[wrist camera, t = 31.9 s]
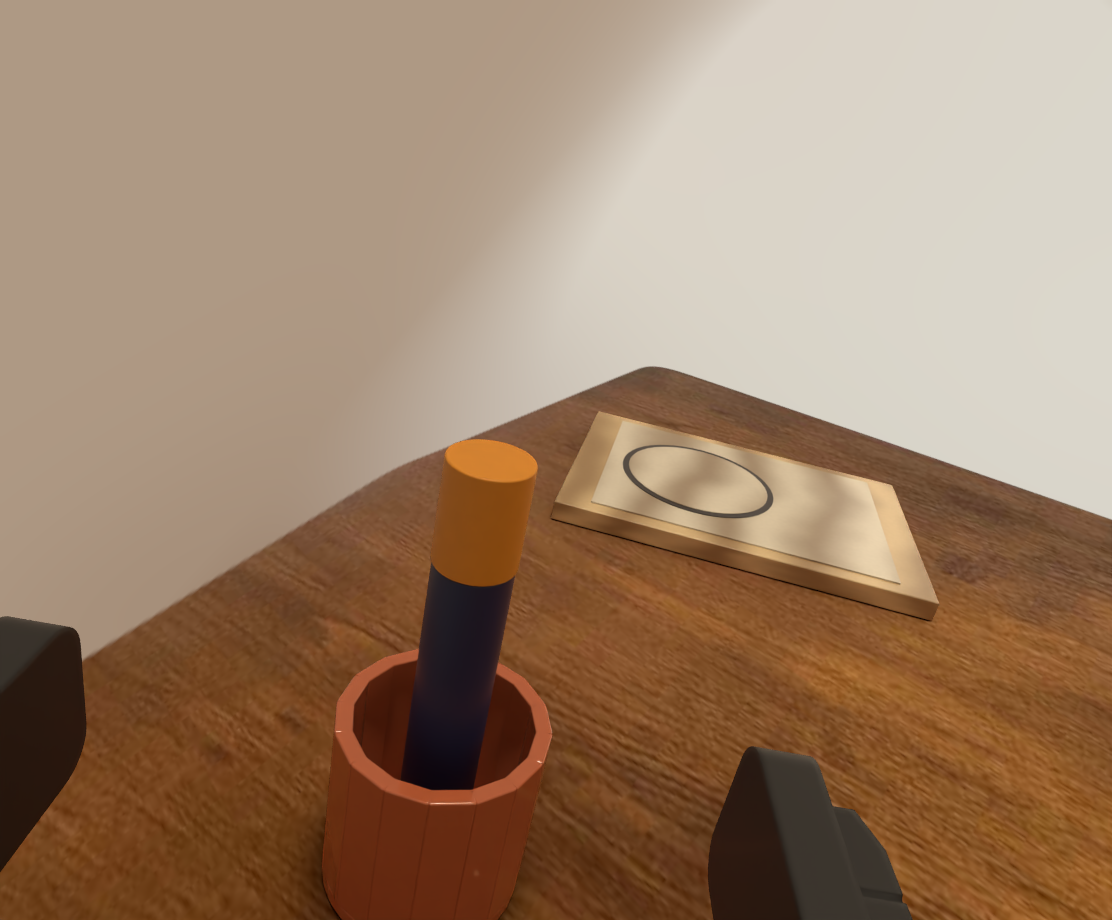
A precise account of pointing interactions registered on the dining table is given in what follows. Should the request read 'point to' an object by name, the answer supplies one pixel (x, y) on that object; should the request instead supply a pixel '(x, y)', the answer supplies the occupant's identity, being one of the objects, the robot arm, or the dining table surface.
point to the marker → (466, 608)
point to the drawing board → (747, 512)
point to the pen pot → (428, 805)
